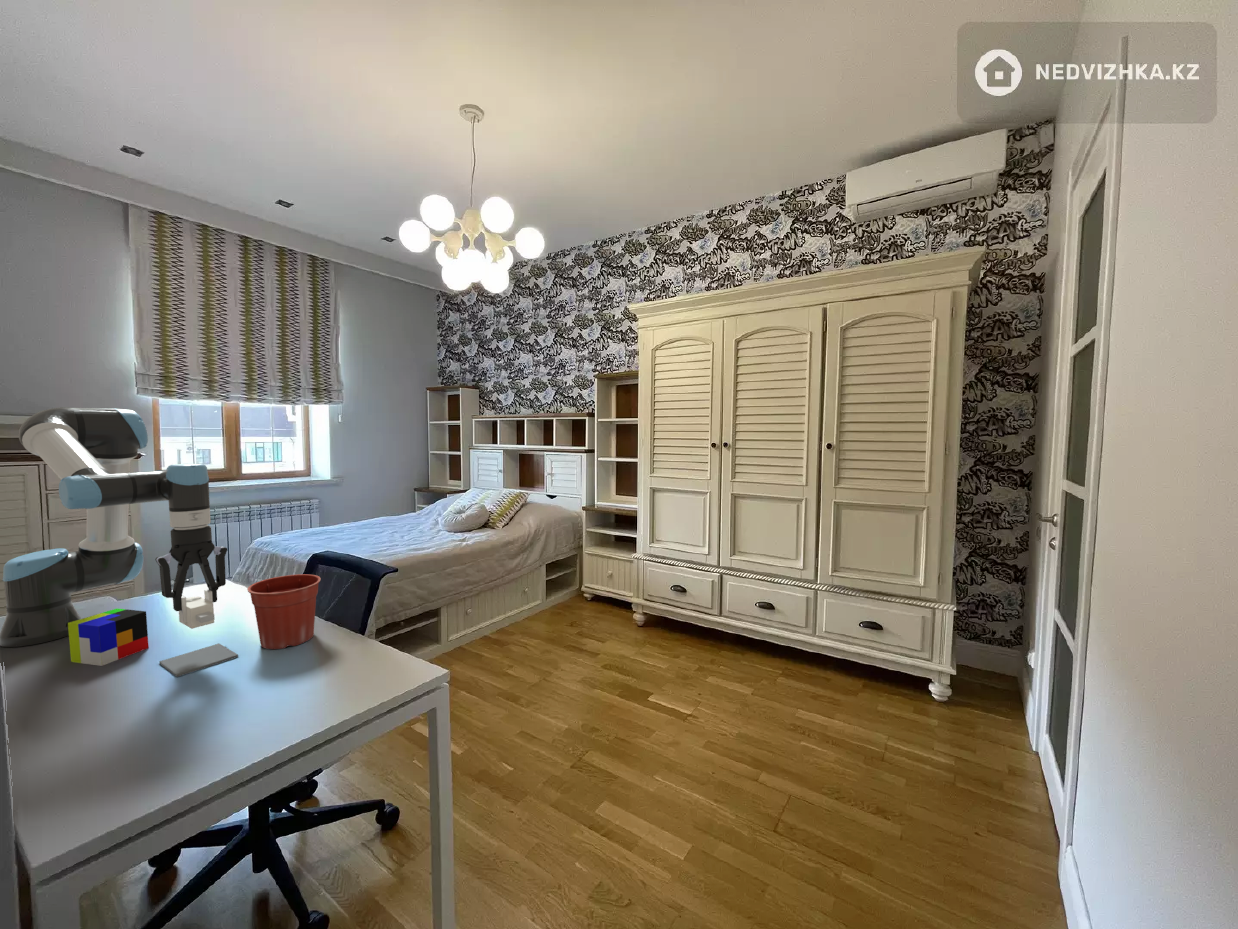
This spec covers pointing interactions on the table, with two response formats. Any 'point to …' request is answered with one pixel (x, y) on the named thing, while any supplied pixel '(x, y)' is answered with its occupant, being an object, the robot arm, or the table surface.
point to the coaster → (198, 659)
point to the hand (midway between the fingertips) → (196, 618)
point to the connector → (199, 612)
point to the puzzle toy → (108, 636)
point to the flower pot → (285, 609)
